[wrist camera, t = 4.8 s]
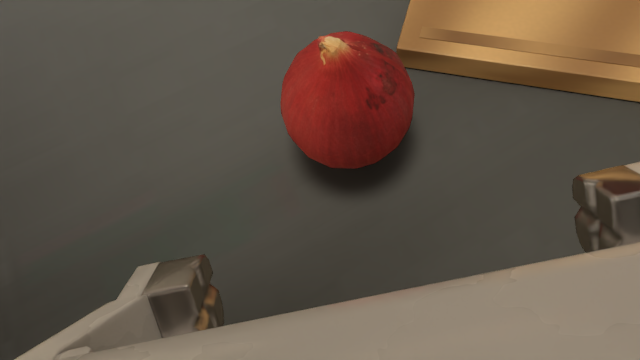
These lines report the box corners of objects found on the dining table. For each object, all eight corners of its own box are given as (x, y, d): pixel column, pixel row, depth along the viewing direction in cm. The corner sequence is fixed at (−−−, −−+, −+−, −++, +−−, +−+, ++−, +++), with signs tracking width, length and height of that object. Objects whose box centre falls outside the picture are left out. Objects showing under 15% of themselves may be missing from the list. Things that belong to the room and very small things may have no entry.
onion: (388, 80, 30) (381, -38, 23) (431, 172, 27) (440, 70, 20) (283, 117, 30) (244, 10, 23) (316, 212, 27) (284, 125, 20)
